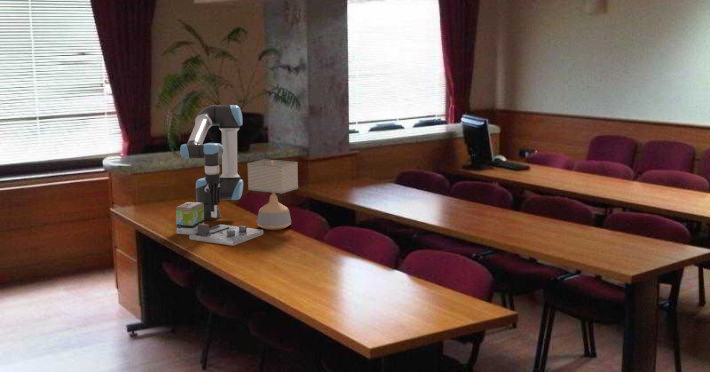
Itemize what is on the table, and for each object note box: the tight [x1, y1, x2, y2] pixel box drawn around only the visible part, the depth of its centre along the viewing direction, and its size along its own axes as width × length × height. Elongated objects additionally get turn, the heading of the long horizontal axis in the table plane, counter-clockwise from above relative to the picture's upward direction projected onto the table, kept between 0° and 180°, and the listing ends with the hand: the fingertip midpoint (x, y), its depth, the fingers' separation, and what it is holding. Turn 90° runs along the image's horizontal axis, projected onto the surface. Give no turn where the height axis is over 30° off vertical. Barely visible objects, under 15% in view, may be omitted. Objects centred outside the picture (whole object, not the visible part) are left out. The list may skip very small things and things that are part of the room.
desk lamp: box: [247, 158, 299, 231], centre depth 429 cm, size 22×19×37 cm
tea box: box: [175, 201, 205, 235], centre depth 424 cm, size 15×10×15 cm
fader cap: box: [198, 223, 210, 235], centre depth 408 cm, size 3×5×5 cm, turn 61°
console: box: [188, 223, 264, 247], centre depth 412 cm, size 26×29×5 cm
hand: (214, 217), depth 415 cm, fingers closed
